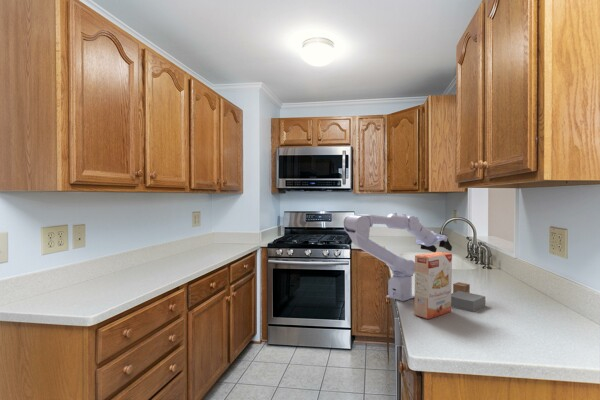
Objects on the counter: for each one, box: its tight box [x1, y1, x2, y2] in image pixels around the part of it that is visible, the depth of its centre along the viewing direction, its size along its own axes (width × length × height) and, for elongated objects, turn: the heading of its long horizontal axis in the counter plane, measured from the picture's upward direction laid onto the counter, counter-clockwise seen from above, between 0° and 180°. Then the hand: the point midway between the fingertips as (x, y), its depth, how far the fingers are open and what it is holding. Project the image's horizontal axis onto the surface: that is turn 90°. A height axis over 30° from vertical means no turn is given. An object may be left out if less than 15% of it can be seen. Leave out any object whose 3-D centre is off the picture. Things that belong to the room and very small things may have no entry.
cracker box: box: [413, 251, 453, 320], centre depth 125 cm, size 14×6×21 cm, turn 126°
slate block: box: [451, 291, 486, 312], centre depth 134 cm, size 10×10×4 cm
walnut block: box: [452, 281, 471, 293], centre depth 146 cm, size 5×5×5 cm
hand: (443, 249), depth 155 cm, fingers open, 7 cm apart
